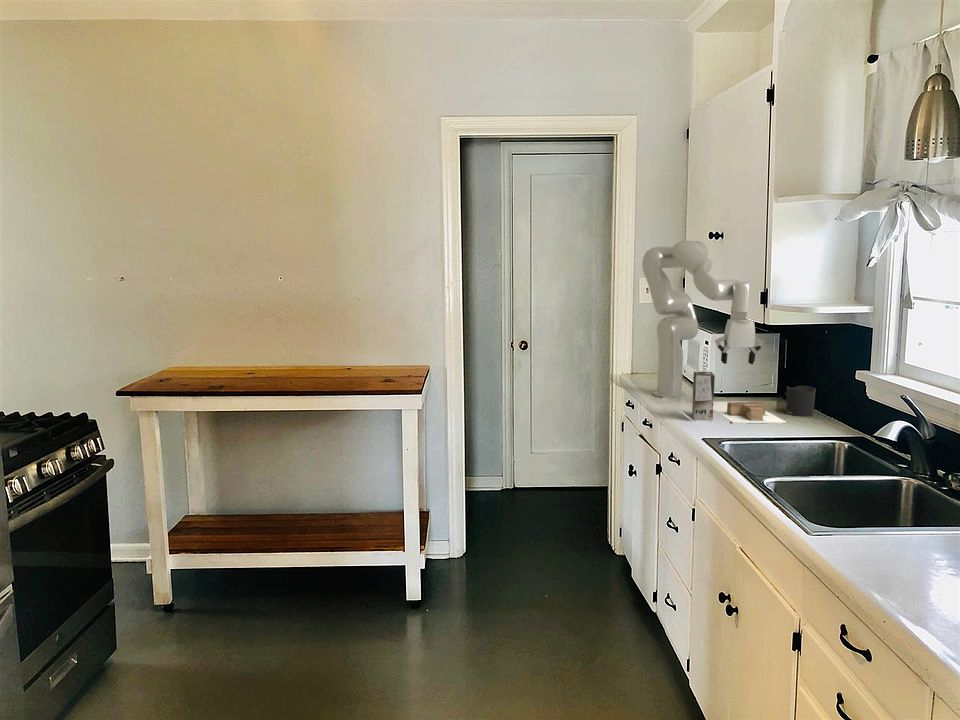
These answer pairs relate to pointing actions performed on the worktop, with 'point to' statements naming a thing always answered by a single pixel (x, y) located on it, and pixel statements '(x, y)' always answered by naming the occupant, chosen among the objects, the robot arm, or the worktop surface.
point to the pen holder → (800, 401)
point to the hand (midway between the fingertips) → (737, 363)
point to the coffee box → (703, 396)
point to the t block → (747, 410)
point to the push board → (722, 409)
